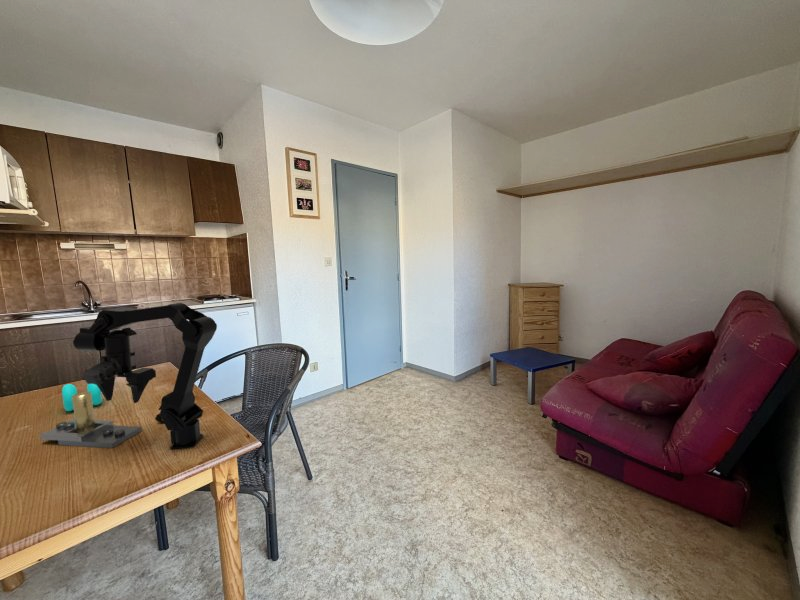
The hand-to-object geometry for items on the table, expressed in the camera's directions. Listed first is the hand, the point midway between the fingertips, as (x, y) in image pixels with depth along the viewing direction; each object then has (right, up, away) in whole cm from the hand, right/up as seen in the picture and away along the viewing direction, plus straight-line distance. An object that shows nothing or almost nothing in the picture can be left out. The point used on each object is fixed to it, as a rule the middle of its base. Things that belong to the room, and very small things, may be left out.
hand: (122, 401), depth 95 cm
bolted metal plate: (-13, -13, +4) cm, 19 cm away
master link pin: (-15, -13, +5) cm, 20 cm away
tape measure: (+3, -12, +15) cm, 19 cm away
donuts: (-37, -11, +26) cm, 46 cm away
